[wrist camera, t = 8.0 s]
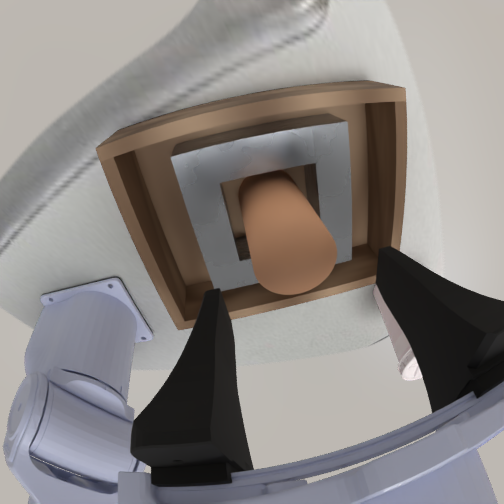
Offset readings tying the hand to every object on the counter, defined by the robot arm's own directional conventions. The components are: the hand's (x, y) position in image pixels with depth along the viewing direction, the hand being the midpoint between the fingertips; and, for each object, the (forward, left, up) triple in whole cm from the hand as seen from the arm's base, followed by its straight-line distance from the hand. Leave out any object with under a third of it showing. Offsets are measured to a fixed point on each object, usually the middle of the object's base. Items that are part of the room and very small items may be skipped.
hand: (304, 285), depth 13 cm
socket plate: (0, 0, -10) cm, 10 cm away
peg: (0, 0, -9) cm, 9 cm away
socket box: (0, 0, -10) cm, 10 cm away
